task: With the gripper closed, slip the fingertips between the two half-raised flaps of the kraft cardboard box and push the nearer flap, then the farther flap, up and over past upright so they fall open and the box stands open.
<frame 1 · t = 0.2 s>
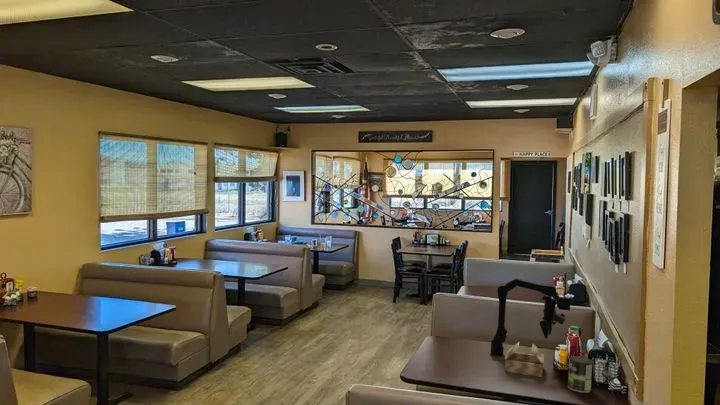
hand: (547, 336, 290), 14 cm above the table, tool pointing down, fingers open, 9 cm apart
flap 1: (512, 350, 279), point 9 cm above the table, hinge at 44.9°
flap 2: (537, 353, 274), point 9 cm above the table, hinge at 44.9°
coffee can: (579, 389, 253), on the table
carton: (524, 369, 277), on the table
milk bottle: (572, 363, 291), on the table
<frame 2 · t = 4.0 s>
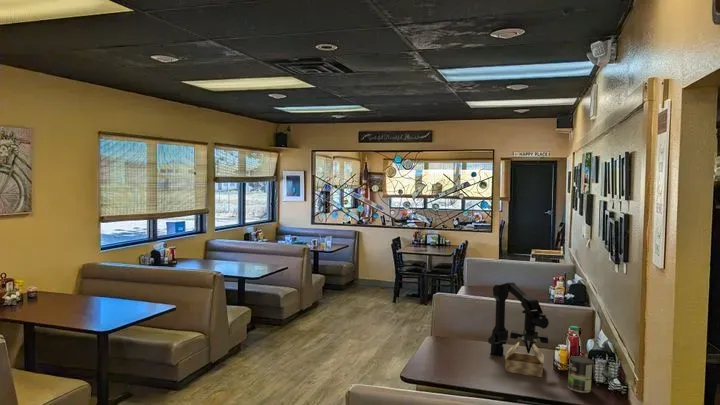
hand: (528, 353, 276), 9 cm above the table, tool pointing down, fingers closed
flap 2: (538, 353, 274), point 9 cm above the table, hinge at 46.6°, touching gripper
everything else where it was.
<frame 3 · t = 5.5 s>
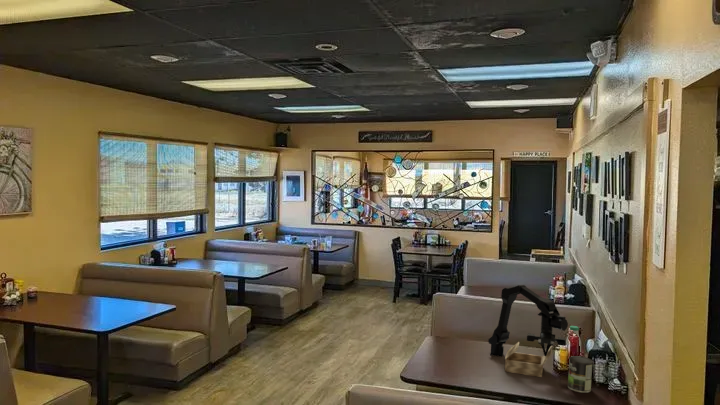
hand: (545, 355, 273), 9 cm above the table, tool pointing down, fingers closed
flap 2: (547, 354, 273), point 10 cm above the table, hinge at 118.5°, touching gripper
everything else where it was.
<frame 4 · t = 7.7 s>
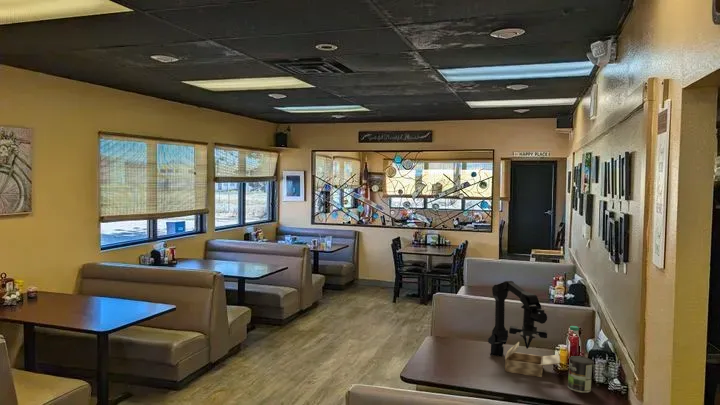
hand: (527, 348, 276), 11 cm above the table, tool pointing down, fingers closed
flap 2: (551, 359, 272), point 7 cm above the table, hinge at 165.3°
everything else where it was.
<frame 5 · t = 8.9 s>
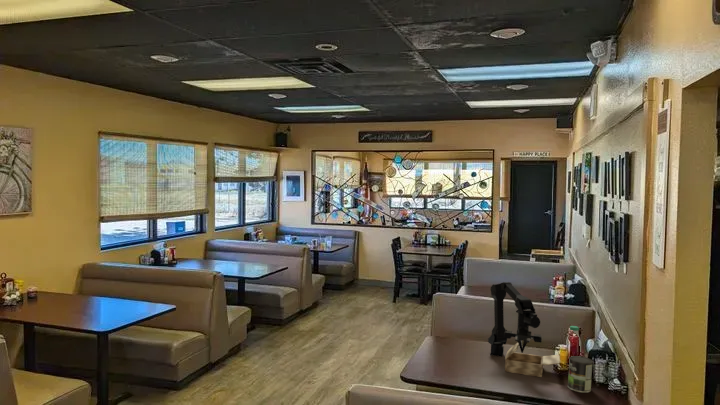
hand: (522, 352, 277), 9 cm above the table, tool pointing down, fingers closed
flap 1: (512, 350, 279), point 9 cm above the table, hinge at 46.1°, touching gripper
everything else where it was.
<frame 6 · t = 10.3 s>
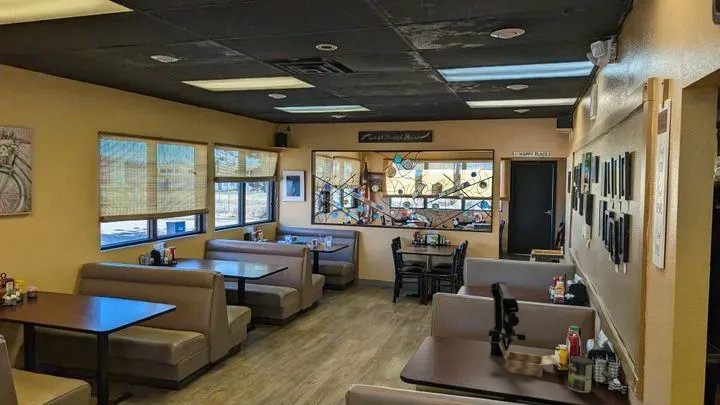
hand: (506, 350, 280), 8 cm above the table, tool pointing down, fingers closed
flap 1: (503, 347, 280), point 10 cm above the table, hinge at 114.0°, touching gripper
everything else where it was.
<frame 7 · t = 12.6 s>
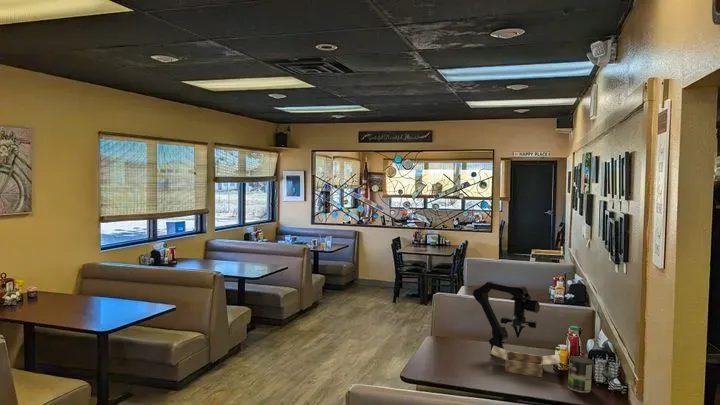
hand: (517, 337, 291), 12 cm above the table, tool pointing down, fingers closed
flap 1: (499, 352, 281), point 7 cm above the table, hinge at 165.3°
everything else where it was.
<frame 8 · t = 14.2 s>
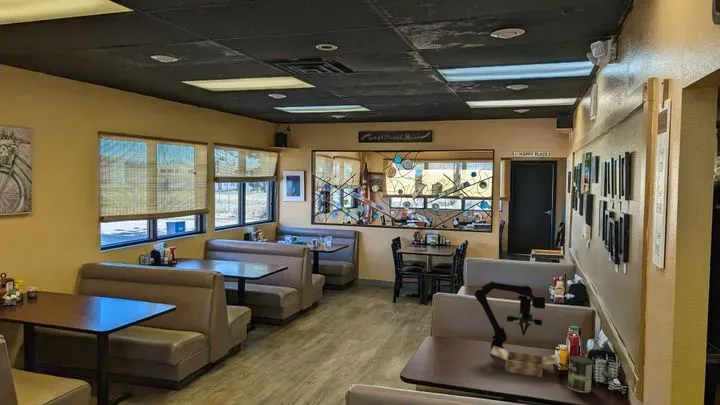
hand: (523, 335, 297), 12 cm above the table, tool pointing down, fingers closed
nothing on the table moved.
at the end: flap 2 at +165° (first picture: +45°); flap 1 at +165° (first picture: +45°) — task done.
